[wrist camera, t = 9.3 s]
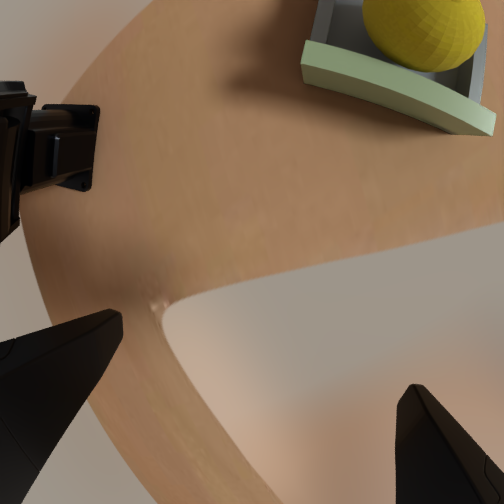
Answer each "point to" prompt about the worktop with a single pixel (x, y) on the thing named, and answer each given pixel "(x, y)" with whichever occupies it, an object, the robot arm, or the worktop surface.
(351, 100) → the worktop surface
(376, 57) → the miniature couch
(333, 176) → the worktop surface
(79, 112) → the robot arm
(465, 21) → the lemon
